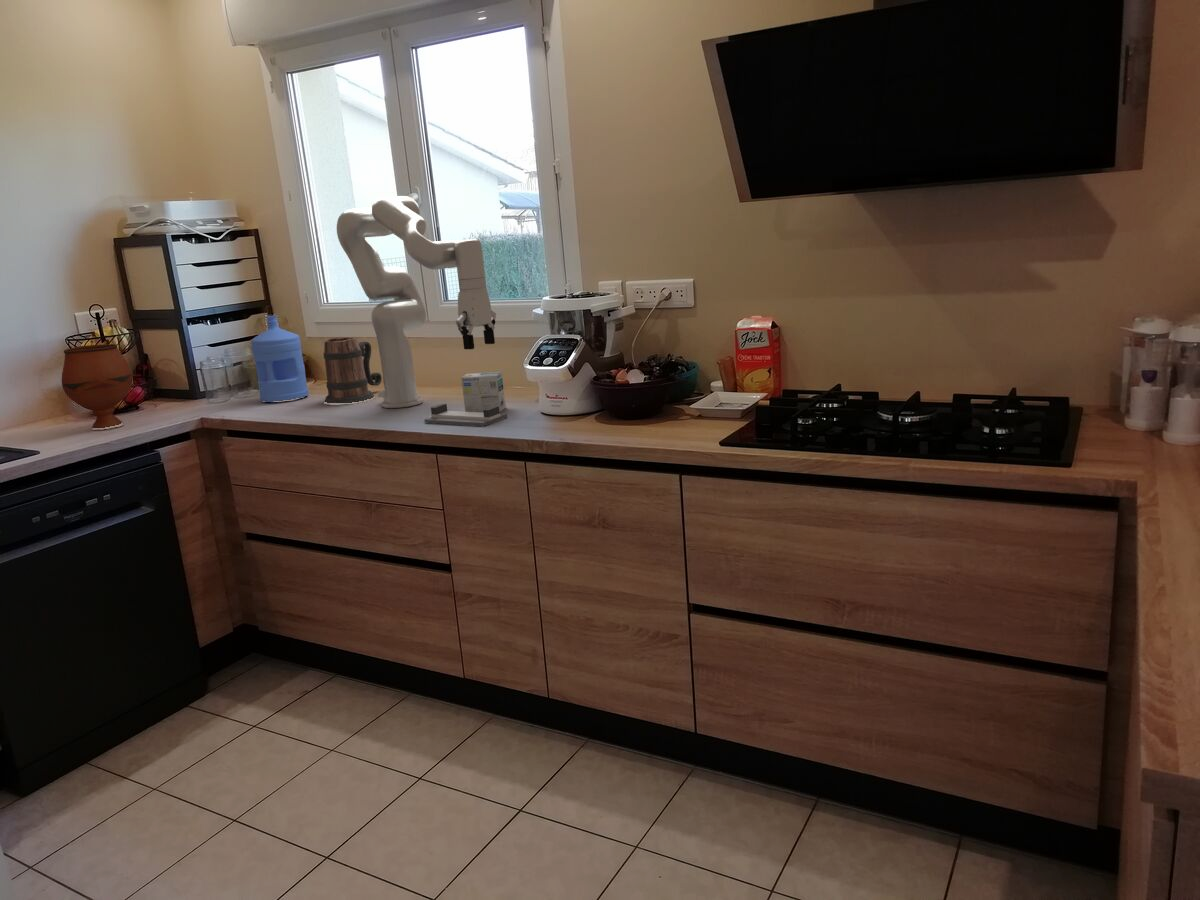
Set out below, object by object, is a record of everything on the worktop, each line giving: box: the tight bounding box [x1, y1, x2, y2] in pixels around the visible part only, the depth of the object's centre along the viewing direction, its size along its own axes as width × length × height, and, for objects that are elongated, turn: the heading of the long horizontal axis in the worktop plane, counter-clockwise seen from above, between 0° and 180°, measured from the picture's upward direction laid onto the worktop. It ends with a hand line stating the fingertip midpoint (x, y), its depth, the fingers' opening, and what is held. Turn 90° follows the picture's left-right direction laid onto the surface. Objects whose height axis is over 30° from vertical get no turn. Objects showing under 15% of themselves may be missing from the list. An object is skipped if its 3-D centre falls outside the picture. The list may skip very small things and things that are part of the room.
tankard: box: [323, 337, 383, 403], centre depth 283 cm, size 24×17×20 cm
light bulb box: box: [461, 371, 506, 413], centre depth 249 cm, size 11×7×11 cm, turn 84°
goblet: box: [61, 343, 134, 429], centre depth 263 cm, size 19×19×25 cm
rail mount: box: [424, 403, 508, 427], centre depth 238 cm, size 20×11×4 cm, turn 61°
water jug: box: [250, 315, 310, 402], centre depth 290 cm, size 16×16×28 cm
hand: (479, 346), depth 245 cm, fingers open, 9 cm apart
